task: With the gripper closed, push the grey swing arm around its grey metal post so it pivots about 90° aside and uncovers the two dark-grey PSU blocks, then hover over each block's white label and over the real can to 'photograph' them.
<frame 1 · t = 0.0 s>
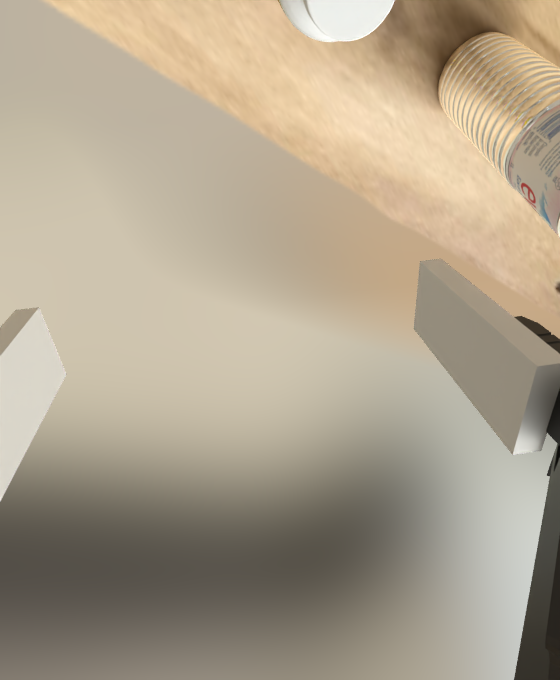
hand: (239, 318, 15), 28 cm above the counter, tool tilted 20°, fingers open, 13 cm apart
water bottle: (473, 75, 37), on the counter
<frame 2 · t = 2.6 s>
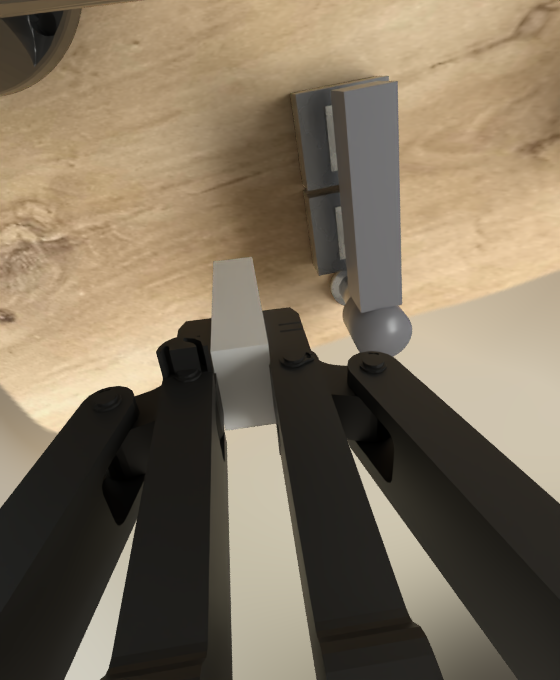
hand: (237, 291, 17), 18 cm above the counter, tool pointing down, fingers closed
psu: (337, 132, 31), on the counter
cable arm: (370, 236, 28), point 7 cm above the counter, hinge at 0.0°
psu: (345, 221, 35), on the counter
pivot post: (350, 284, 37), on the counter
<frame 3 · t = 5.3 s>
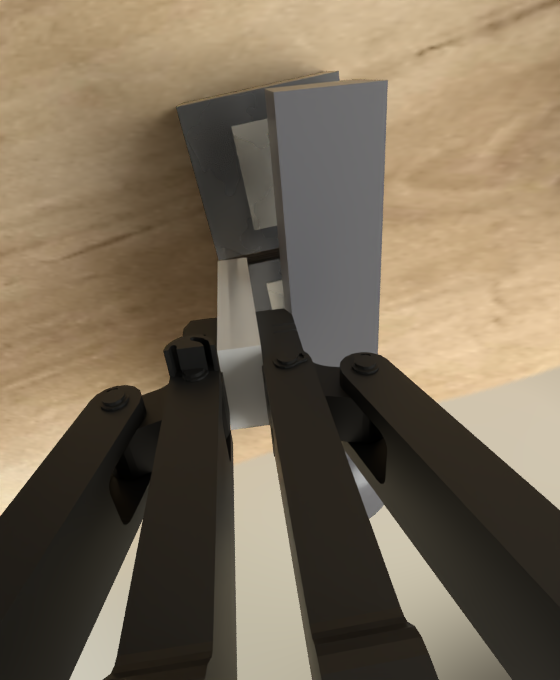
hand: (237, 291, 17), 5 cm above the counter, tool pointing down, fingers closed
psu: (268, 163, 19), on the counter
cable arm: (328, 345, 16), point 7 cm above the counter, hinge at 5.7°, touching gripper
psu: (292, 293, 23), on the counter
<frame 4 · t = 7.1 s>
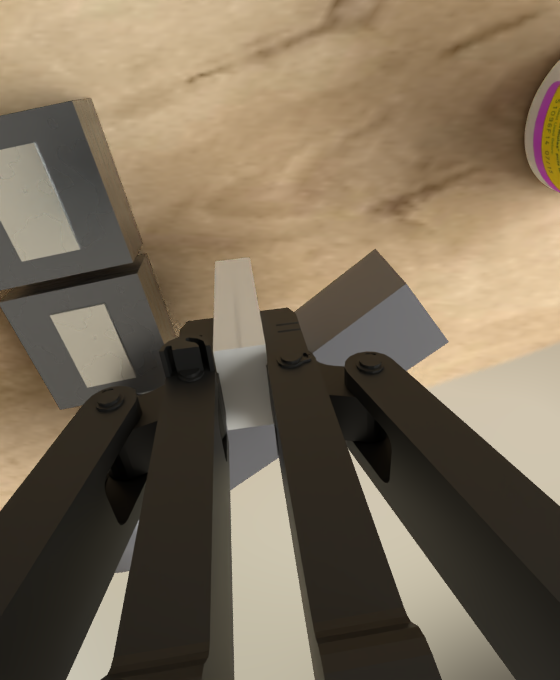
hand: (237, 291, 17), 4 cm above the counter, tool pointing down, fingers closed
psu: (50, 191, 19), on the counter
cable arm: (229, 425, 17), point 7 cm above the counter, hinge at 60.7°, touching gripper
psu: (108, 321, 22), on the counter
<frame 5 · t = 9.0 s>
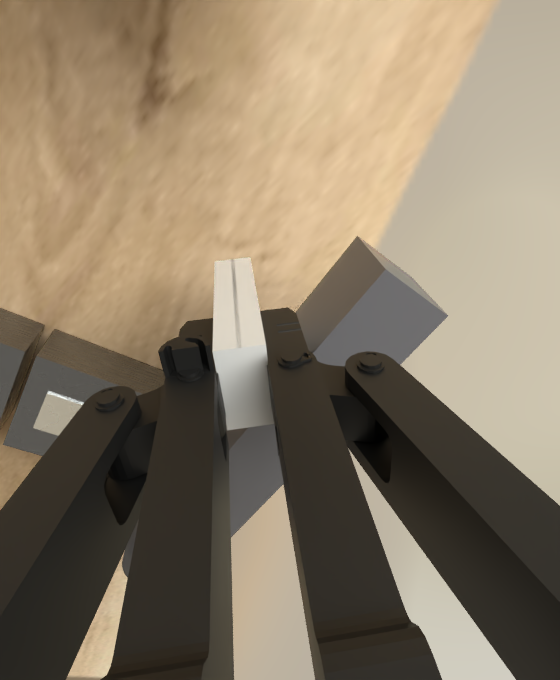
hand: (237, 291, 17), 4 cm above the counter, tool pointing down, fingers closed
cable arm: (256, 436, 18), point 7 cm above the counter, hinge at 96.0°, touching gripper
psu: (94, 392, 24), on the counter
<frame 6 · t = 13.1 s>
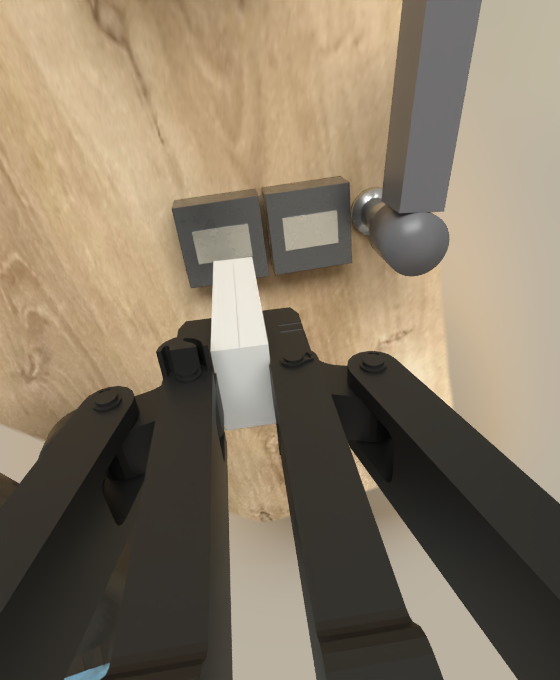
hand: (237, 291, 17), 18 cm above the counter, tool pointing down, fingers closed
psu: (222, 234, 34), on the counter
cable arm: (422, 126, 25), point 7 cm above the counter, hinge at 96.1°
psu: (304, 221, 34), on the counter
pivot post: (372, 211, 34), on the counter
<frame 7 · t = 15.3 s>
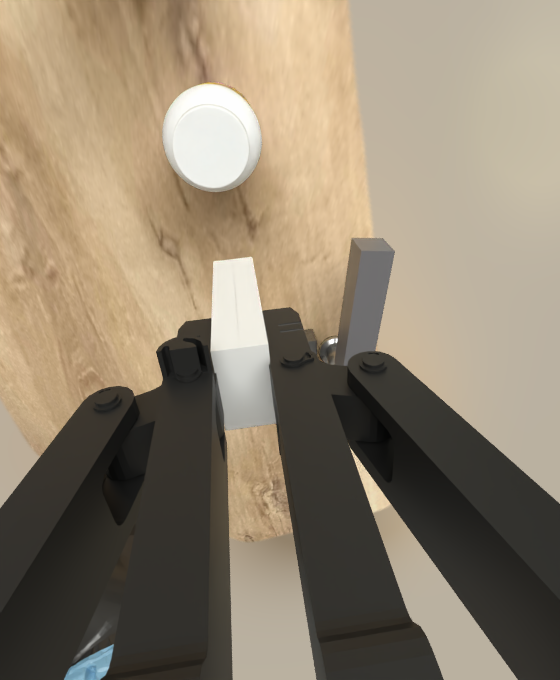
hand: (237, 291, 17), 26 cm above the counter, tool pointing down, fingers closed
cable arm: (357, 331, 41), point 7 cm above the counter, hinge at 96.1°
pivot post: (334, 349, 50), on the counter
supplement bottle: (216, 126, 37), on the counter
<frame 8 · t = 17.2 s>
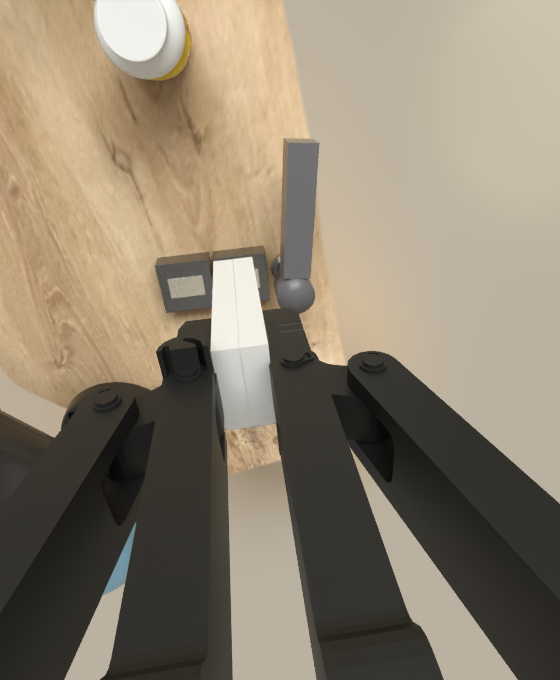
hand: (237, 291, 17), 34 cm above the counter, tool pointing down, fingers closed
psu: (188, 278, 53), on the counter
cable arm: (296, 231, 45), point 7 cm above the counter, hinge at 96.1°
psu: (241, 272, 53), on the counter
pivot post: (285, 266, 54), on the counter
supplement bottle: (156, 39, 41), on the counter
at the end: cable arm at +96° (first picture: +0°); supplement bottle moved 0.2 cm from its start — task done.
